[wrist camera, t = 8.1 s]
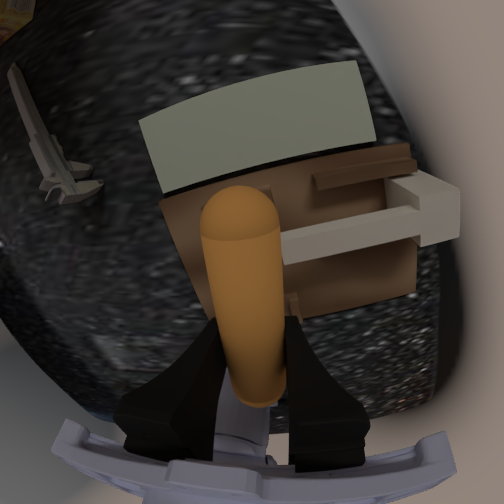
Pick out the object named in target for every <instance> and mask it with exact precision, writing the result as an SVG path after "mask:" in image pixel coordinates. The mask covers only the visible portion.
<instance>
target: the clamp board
mask: <svg viewBox="0 0 504 504" xmlns="http://www.w3.org/2000/svg"><path fill="white" fill-rule="evenodd" d="M414 172H418V170H417V162H416V160H414V159H411V154H410V147H409V144H408V143H397V144H390V145H383V146H377V147H371V148H364V149H359V150H353V151H347V152H342V153H337V154H331V155H326V156H321V157H317V158H312V159H307V160H303V161H298V162H294V163H289V164H285V165H281V166H277V167H272V168H268V169H264V170H260V171H257V172H253V173H249V174H245V175H241V176H238V177H234V178H231V179H227V180H223V181H220V182H216V183H213V184H210V185H206V186H203V187H200V188H196V189H193V190H190V191H187V192H184V193H181V194H177V195H174V196H171V197H168V198H165V199H162V200H161V201H160V202H158V203H159V205H160V208H161V210H162V213H163V216H164V218H165V221H166V223H167V226H168V228H169V231H170V233H171V236H172V238H173V241H174V243H175V245H176V248H177V250H178V253H179V255H180V257H181V260H182V262H183V264H184V267H185V269H186V271H187V274H188V276H189V278H190V280H191V283H192V285H193V287H194V289H195V291H196V294H197V296H198V298H199V300H200V302H201V304H202V307H203V309H204V311H205V313H206V315H207V317H208V319H209V321H210V320H211V319H212V318H213V317H216V314H215V309H214V305H213V300H212V295H211V290H210V285H209V279H208V274H207V269H206V264H205V258H204V253H203V247H202V241H201V235H200V218H201V214H202V211H203V208H204V206H205V205H206V203H207V202H208V200H209V199H210V198H211V197H212V196H213V195H214V194H216V193H217V192H219V191H220V190H222V189H225V188H228V187H231V186H238V185H241V186H249V187H252V188H255V189H257V190H259V191H261V192H262V193H264V194H265V195H266V196H267V197H268V198H269V199H270V200H271V201H272V203H273V204H274V206H275V207H276V210H277V212H278V216H279V222H280V232H285V231H289V230H294V229H298V228H303V227H307V226H312V225H316V224H321V223H325V222H330V221H335V220H339V219H344V218H349V217H353V216H358V215H363V214H367V213H372V212H377V211H381V210H386V209H387V203H386V194H385V186H384V179H383V178H385V177H390V176H396V175H402V174H408V173H414ZM416 269H417V243H416V242H415V241H414V240H413V239H412V238H411V237H408V238H404V239H400V240H395V241H391V242H387V243H383V244H378V245H374V246H370V247H365V248H361V249H356V250H352V251H348V252H343V253H339V254H334V255H330V256H325V257H320V258H316V259H311V260H307V261H302V262H297V263H293V264H288V265H284V262H283V258H282V271H283V293H284V316H297V317H298V319H299V323H303V318H308V317H313V316H318V315H323V314H328V313H332V312H337V311H342V310H346V309H350V308H355V307H359V306H363V305H367V304H371V303H375V302H379V301H383V300H387V299H391V298H394V297H398V296H402V295H405V294H409V293H412V292H415V289H416Z"/></svg>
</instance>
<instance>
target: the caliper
mask: <svg viewBox="0 0 504 504" xmlns="http://www.w3.org/2000/svg"><path fill="white" fill-rule="evenodd" d="M7 76H8V80H9V83H10V86H11V89H12V92H13V95H14V98H15V101H16V104H17V107H18V109H19V112H20V115H21V117H22V120H23V122H24V125H25V127H26V129H27V132H28V134H29V136H30V139H31V141H30V143H29V145H30V148H31V150H32V152H33V154H34V157H35V159H36V161H37V163H38V165H39V168H40V170H41V172H42V174H43V176H44V178H43V180H42V182H41V185H40V187H39V189H41V190H44V191H48V192H49V193H48V195H47V197H46V199H45V201H49V200H54V199H57V200H58V202H59V204H60V205H61V204H68V203H74V202H80V201H82V200H84V199H86V198H88V197H89V196H91V195H93V194H95V193H97V192H98V191H99V190H100V188H101V187H102V186H103V184H104V182H103V180H102V179H101V180H91V181H78V182H75V181H74V179H78V178H84V177H89V175H90V174H91V172H92V171H93V170H94V168H93V167H92V166H91V165H89V164H84V163H79V162H74V161H69V160H66V158H65V157H64V155H63V154H64V151H63V146H62V145H61V144H60V143H59V141H58V137H57V135H56V134H49V132H48V130H47V128H46V126H45V124H44V122H43V120H42V118H41V116H40V114H39V112H38V110H37V107H36V105H35V103H34V101H33V98H32V96H31V94H30V91H29V89H28V86H27V84H26V81H25V79H24V76H23V74H22V72H21V71H20V69H19V67H17V66H16V63H15V62H13V64H12V66H11V67H10V69H9V71H8V73H7Z"/></svg>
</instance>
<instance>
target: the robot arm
mask: <svg viewBox="0 0 504 504" xmlns="http://www.w3.org/2000/svg"><path fill="white" fill-rule="evenodd" d="M284 318H285V327H284V334H285V367H286V376H287V385H288V394H289V463H288V465H277V463H276V461H275V460H274V459H273V457H272V456H271V455H266V448H267V446H268V440H269V422H270V407H274V406H277V405H278V401H276V402H275V403H274V404H272V405H270V406H267V407H262V408H256V407H251V406H248V405H246V404H244V403H242V402H241V401H240V400H239V399H238V398H237V397H236V395H235V393H234V391H233V388H232V384H231V380H230V376H229V372H228V368H227V364H226V359H225V355H224V351H223V346H222V342H221V337H220V333H219V328H218V324H217V319H216V317H213V318H212V319H211V320H210V321H209V322H208V324H207V325H206V327H205V328H204V329H203V331H202V332H201V333H200V334H199V336H198V337H197V338H196V339H195V341H194V342H193V343H192V344H191V345H190V347H189V348H188V349H187V350H186V351H185V352H184V353H183V354H182V355H181V356H180V357H179V358H178V359H177V360H176V361H175V362H174V363H173V364H172V365H171V366H170V367H168V368H167V369H166V370H165V371H163V372H162V373H161V374H159V375H158V376H157V377H155V378H154V379H152V380H151V381H149V382H148V383H146V384H144V385H143V386H141V387H139V388H137V389H135V390H133V391H131V392H129V393H127V394H125V395H123V396H122V397H121V399H120V401H119V403H118V405H117V408H116V410H115V412H114V415H113V420H114V422H115V423H116V424H117V425H118V426H119V427H120V428H121V430H122V431H123V432H124V433H125V434H126V435H127V437H126V440H125V443H120V442H117V441H114V440H111V439H107V438H105V437H102V436H99V435H96V434H93V433H91V432H90V431H89V430H88V429H87V428H86V427H85V426H83V425H82V424H80V423H77V422H75V421H73V420H70V419H66V420H65V422H64V424H63V426H62V428H61V430H60V432H59V434H58V436H57V438H56V440H55V442H54V444H53V446H52V448H51V452H52V453H54V454H55V455H56V456H58V457H59V458H60V459H62V460H63V461H65V462H66V463H67V464H69V465H70V466H72V467H73V468H75V469H76V470H78V471H80V472H82V473H84V474H86V475H89V476H91V477H93V478H95V479H97V480H99V481H102V482H104V483H106V484H108V485H111V486H113V487H116V488H118V489H121V490H123V491H126V492H128V493H131V494H134V495H137V496H139V497H142V498H144V499H143V502H142V504H385V503H389V502H392V501H395V500H399V499H402V498H405V497H408V496H411V495H414V494H417V493H420V492H423V491H426V490H428V489H431V488H433V487H435V486H437V485H438V484H440V483H442V482H443V481H445V480H446V479H448V478H449V477H451V476H452V475H454V474H455V473H456V472H457V470H456V466H455V462H454V458H453V454H452V451H451V447H450V444H449V441H448V437H447V435H446V431H441V432H439V433H436V434H433V435H430V436H427V437H424V438H422V439H421V440H419V441H418V442H417V444H416V445H415V446H411V447H407V448H404V449H400V450H396V451H392V452H387V453H383V454H378V455H373V456H369V457H365V452H364V447H365V439H364V438H365V436H366V434H367V433H368V431H369V429H370V421H369V417H368V415H367V412H366V410H365V408H364V406H363V404H362V403H360V402H359V401H358V400H356V399H355V398H354V397H353V396H351V395H350V394H349V393H348V392H347V391H346V390H345V389H343V388H342V387H341V386H340V385H339V383H338V382H337V381H336V380H335V379H334V378H333V377H332V376H331V375H330V374H329V373H328V371H327V370H326V369H325V368H324V366H323V365H322V364H321V362H320V361H319V359H318V358H317V356H316V355H315V353H314V352H313V350H312V348H311V347H310V345H309V343H308V341H307V339H306V337H305V335H304V333H303V331H302V328H301V326H300V323H299V319H298V317H297V316H284Z"/></svg>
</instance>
